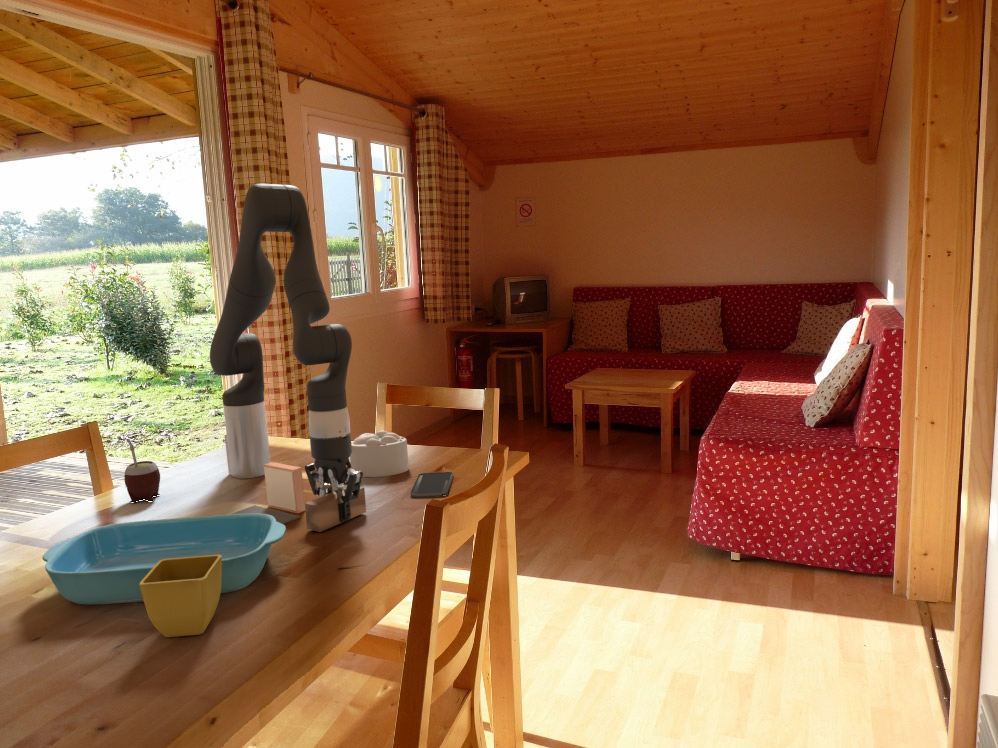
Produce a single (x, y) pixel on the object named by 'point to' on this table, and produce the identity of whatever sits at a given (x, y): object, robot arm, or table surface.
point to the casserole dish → (158, 554)
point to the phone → (432, 484)
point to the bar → (331, 510)
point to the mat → (278, 515)
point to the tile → (284, 487)
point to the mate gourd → (141, 479)
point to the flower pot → (182, 594)
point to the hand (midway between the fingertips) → (337, 518)
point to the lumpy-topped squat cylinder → (379, 454)
